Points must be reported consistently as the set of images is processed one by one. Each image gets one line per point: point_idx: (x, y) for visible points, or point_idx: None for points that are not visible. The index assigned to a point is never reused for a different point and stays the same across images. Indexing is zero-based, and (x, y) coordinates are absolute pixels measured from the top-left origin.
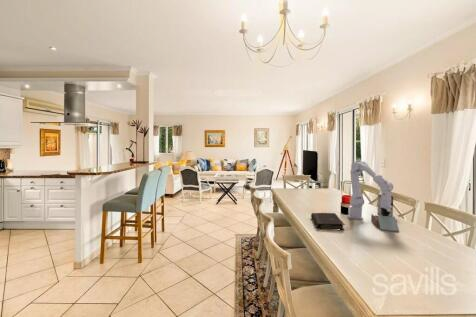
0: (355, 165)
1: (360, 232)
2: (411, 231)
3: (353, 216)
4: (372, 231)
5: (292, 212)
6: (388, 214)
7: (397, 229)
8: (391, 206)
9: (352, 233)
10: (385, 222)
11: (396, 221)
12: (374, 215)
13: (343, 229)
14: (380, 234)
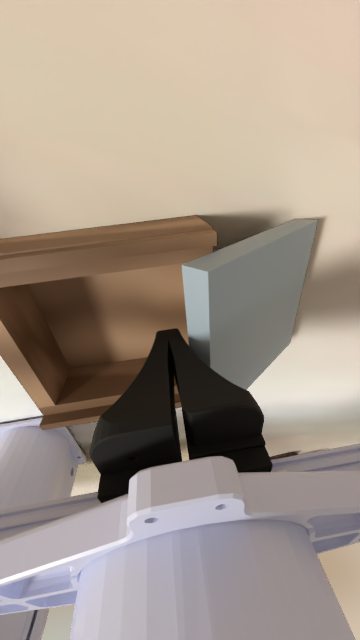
0: None
1: (317, 412)
2: (263, 36)
3: (69, 460)
4: (299, 375)
5: None
6: (204, 365)
7: (310, 236)
8: (194, 515)
9: (330, 431)
10: (261, 342)
11: (214, 232)
12: (44, 403)
13: (290, 455)
14: (347, 345)
